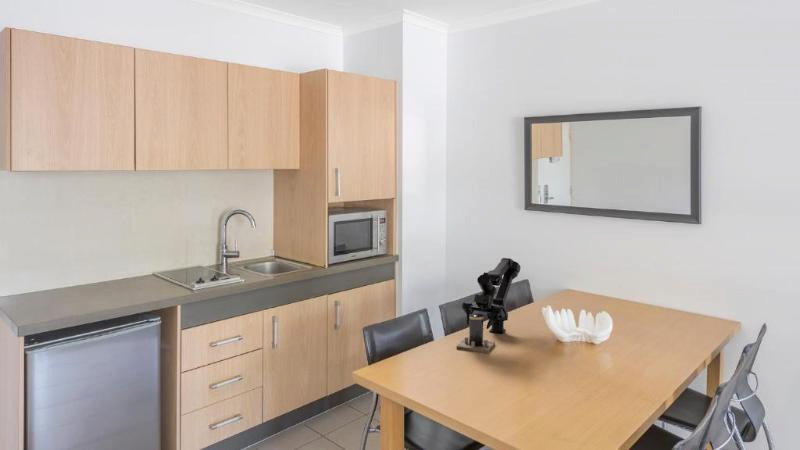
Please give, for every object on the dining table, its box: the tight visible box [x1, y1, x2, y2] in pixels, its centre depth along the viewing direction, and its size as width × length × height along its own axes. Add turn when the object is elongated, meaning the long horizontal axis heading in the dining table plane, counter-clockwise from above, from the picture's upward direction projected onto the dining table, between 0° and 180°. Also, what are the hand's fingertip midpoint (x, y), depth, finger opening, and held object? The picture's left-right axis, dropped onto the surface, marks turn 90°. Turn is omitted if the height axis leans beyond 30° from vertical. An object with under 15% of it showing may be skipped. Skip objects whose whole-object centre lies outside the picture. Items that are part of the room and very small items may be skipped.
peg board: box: [456, 336, 496, 354], centre depth 241 cm, size 12×14×4 cm
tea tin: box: [468, 313, 485, 347], centre depth 240 cm, size 6×6×13 cm
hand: (477, 326), depth 241 cm, fingers open, 9 cm apart
